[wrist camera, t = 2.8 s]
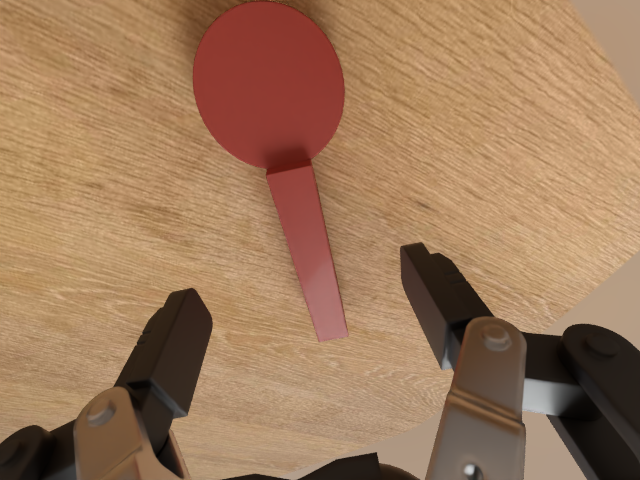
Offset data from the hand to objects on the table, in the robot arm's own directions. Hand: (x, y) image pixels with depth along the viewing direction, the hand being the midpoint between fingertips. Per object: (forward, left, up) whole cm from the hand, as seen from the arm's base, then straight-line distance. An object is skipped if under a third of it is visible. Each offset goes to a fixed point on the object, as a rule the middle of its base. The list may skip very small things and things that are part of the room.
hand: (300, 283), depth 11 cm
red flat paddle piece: (0, 0, -7) cm, 7 cm away
